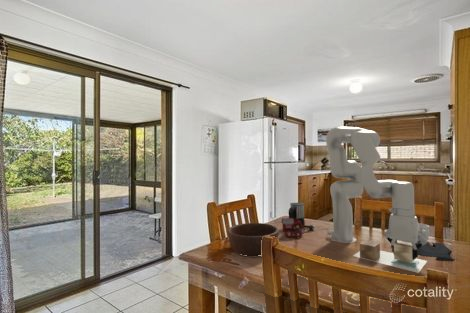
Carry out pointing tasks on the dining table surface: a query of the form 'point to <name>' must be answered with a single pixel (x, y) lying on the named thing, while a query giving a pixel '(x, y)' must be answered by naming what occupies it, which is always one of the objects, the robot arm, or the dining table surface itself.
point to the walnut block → (370, 250)
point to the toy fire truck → (292, 227)
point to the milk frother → (298, 213)
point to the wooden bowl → (249, 237)
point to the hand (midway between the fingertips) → (404, 256)
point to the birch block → (403, 251)
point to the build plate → (398, 262)
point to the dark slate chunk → (435, 251)
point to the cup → (424, 231)
